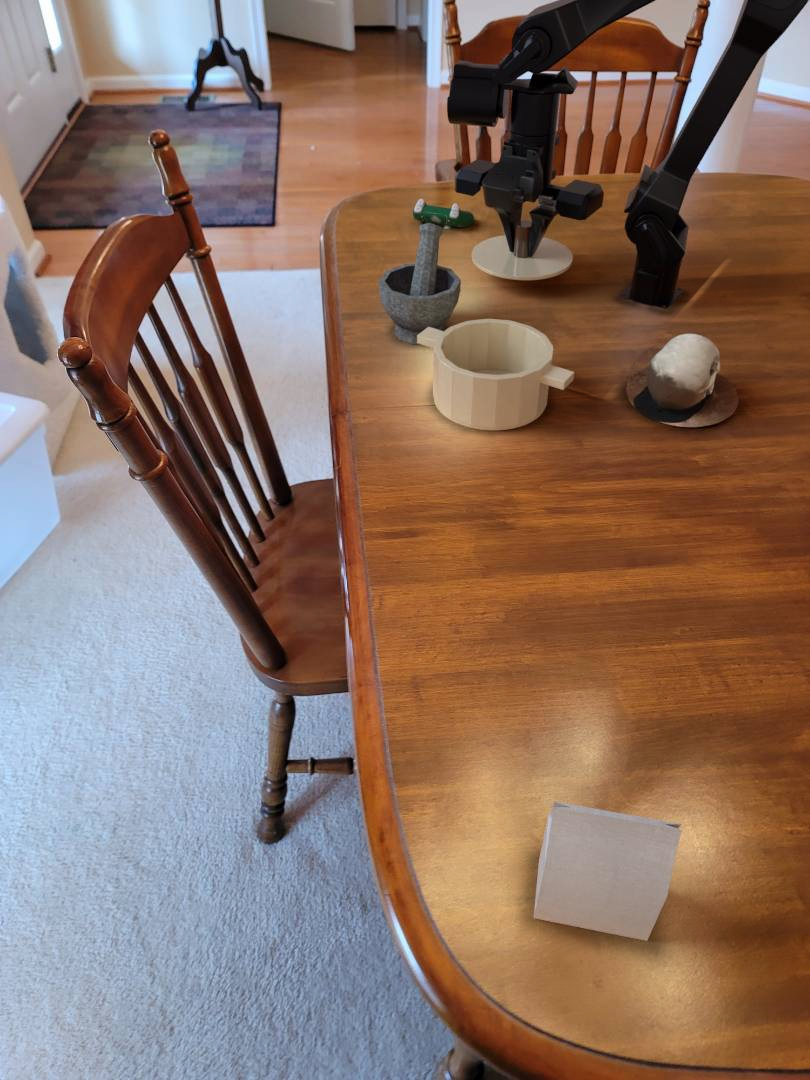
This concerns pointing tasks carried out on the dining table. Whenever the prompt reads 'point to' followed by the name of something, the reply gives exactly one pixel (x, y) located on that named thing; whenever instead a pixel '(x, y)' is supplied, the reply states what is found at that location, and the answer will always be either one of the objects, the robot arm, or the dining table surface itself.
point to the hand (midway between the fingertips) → (522, 253)
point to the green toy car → (442, 215)
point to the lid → (521, 256)
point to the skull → (684, 385)
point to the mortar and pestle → (420, 290)
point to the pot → (492, 373)
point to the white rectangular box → (604, 870)
